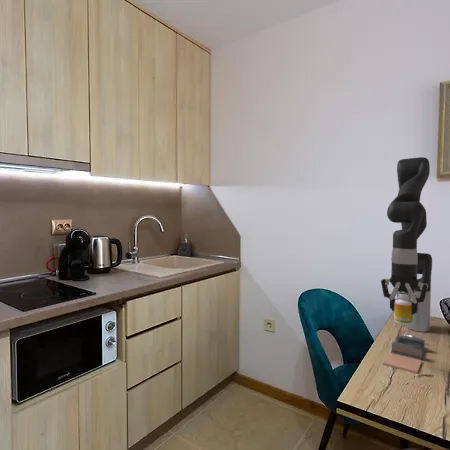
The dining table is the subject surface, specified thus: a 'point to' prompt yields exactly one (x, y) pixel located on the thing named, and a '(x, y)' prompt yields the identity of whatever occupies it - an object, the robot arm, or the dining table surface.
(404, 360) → the terracotta tile
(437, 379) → the dining table surface
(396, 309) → the supplement bottle
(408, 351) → the bench vise
